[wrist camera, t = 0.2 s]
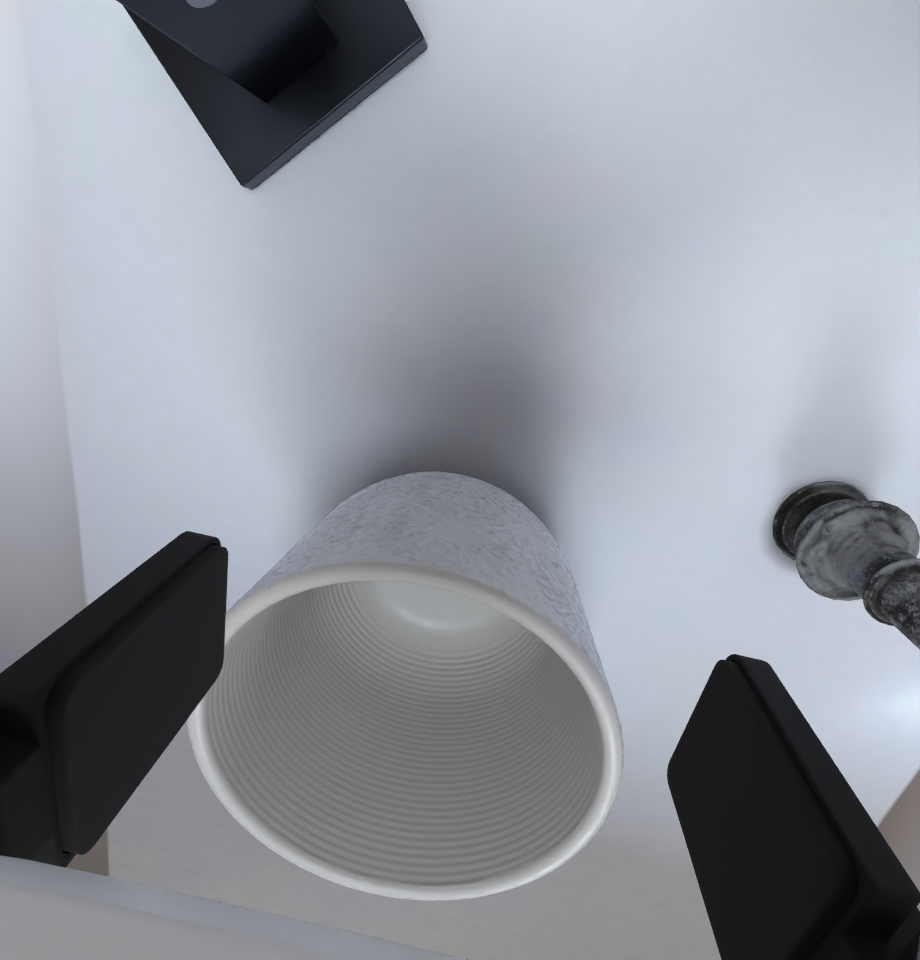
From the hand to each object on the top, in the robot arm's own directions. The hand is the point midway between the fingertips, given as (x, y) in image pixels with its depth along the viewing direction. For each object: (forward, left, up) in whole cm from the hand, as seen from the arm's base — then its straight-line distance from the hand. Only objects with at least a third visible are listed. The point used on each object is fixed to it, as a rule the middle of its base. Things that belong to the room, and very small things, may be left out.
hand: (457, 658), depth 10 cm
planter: (+11, -1, -22) cm, 25 cm away
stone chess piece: (+3, +20, -22) cm, 30 cm away
